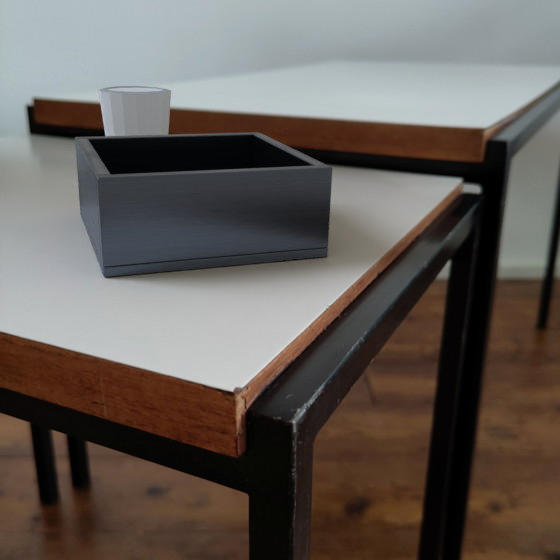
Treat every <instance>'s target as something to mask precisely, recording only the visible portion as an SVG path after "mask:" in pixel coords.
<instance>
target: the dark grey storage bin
mask: <svg viewBox="0 0 560 560" xmlns="http://www.w3.org/2000/svg"><path fill="white" fill-rule="evenodd" d="M74 144H75V159H76V173H77V185H78V187H77V188H78V199H79V213H80V217H81V220H82V222H83V225H84V227H85V230H86V233H87V235H88V238H89V241H90V243H91V246H92V250H93V252H94V255H95V257H96V260H97V263H98V265H99V268H100V271H101V273H102V277H103V278H110V277H120V276H121V277H122V276H131V275H143V274H154V273H164V272H174V271H176V272H177V271H185V270H197V269H209V268H219V267H221V268H222V267H230V266H241V265H253V264H262V263H264V264H265V263H273V262H283V260H286V261H294V260H293V259H297V260H306V259H305V258H307V259H317V257H318V258H327V257H328V255H329V254H328V252H329V248H328V247H329V233H330V220H331V219H330V217H331V203H332V202H331V201H332V183H333V181H332V180H333V167H332V166H330V165H327V164H325V163H324V162H322V161H319V160H318V159H315V158H314V157H312V156H309V155H307V154H305V153H303V152H301V151H299V150H297V149H294V148H292V147H290V146H288V145H286V144H284V143H282V142H280V141H278V140H276V139H274V138H272V137H271V136H268V135H265V134H263V133H261V132H259V131H255V132H220V133H219V132H217V133H180V134H177V133H176V134H174V133H173V134H168V135H135V136H105V135H102V136H97V135H95V136H75V137H74ZM313 257H315V258H313Z"/></svg>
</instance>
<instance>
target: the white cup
mask: <svg viewBox="0 0 560 560" xmlns="http://www.w3.org/2000/svg"><path fill="white" fill-rule="evenodd" d="M98 98H99V104H100V110H101V116H102V123H103V129H104V136H135V135H169V130H170V116H171V114H170V113H171V100H172V99H171V98H172V90H171V89H168V88H165V87H164V88H163V87H158V86H145V85H144V86H143V85H120V86H109V87H108V86H107V87H102V88H100V89H98Z"/></svg>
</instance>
